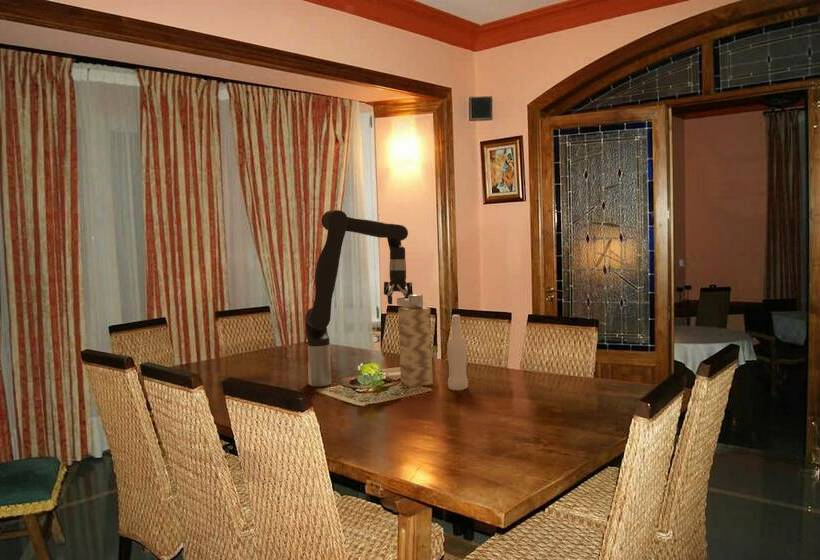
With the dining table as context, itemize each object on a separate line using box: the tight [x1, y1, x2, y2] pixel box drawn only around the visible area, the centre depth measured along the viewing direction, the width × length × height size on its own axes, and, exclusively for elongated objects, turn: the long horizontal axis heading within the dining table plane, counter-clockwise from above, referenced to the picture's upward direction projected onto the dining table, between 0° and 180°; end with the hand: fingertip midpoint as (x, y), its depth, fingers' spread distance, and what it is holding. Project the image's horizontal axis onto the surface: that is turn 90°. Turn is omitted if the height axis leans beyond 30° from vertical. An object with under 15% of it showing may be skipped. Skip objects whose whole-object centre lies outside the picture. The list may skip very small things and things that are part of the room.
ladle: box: [396, 294, 424, 309], centre depth 276 cm, size 6×21×6 cm, turn 22°
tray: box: [380, 366, 401, 378], centre depth 287 cm, size 14×14×2 cm
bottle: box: [446, 314, 469, 391], centre depth 260 cm, size 8×8×30 cm
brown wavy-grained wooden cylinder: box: [397, 306, 433, 387], centre depth 272 cm, size 10×11×32 cm
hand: (398, 304), depth 294 cm, fingers open, 8 cm apart
